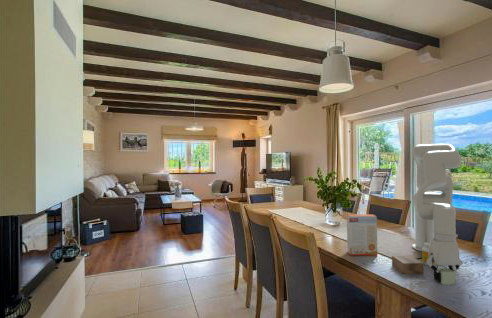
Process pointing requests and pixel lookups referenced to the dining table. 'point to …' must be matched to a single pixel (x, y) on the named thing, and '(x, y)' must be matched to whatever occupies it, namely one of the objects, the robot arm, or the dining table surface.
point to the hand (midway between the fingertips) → (444, 280)
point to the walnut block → (408, 265)
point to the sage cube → (447, 276)
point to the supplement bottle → (425, 253)
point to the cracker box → (362, 234)
